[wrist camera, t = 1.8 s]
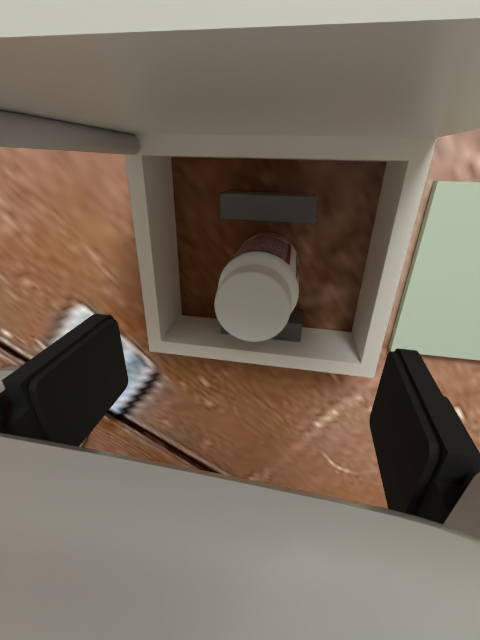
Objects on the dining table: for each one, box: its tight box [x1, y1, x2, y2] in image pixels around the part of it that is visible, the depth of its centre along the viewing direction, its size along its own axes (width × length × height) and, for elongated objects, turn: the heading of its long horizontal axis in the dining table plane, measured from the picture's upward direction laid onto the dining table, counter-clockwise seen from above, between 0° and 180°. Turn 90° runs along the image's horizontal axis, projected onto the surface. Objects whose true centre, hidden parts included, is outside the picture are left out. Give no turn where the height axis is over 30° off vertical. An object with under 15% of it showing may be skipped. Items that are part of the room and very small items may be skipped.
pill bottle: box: [214, 233, 299, 342], centre depth 20 cm, size 5×5×8 cm
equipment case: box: [0, 0, 480, 378], centre depth 15 cm, size 15×16×18 cm
